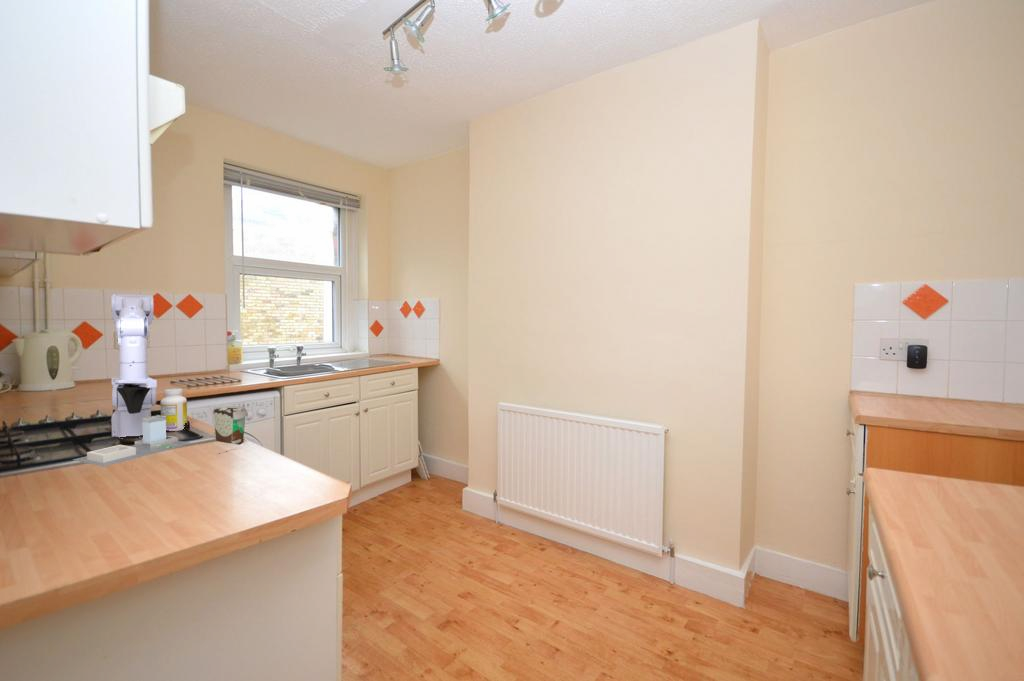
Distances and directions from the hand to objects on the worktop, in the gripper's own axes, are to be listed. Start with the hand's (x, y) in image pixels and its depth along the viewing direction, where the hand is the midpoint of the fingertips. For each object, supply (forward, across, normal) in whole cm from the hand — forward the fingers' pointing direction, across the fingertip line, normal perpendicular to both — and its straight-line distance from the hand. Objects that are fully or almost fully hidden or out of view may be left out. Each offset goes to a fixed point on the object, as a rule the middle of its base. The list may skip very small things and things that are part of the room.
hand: (134, 412), depth 120 cm
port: (+9, +4, +3) cm, 11 cm away
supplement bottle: (+10, -13, +19) cm, 25 cm away
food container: (+11, +15, +17) cm, 25 cm away
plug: (+9, +3, +3) cm, 10 cm away
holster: (+10, +3, -7) cm, 13 cm away
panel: (+10, +3, -2) cm, 11 cm away
